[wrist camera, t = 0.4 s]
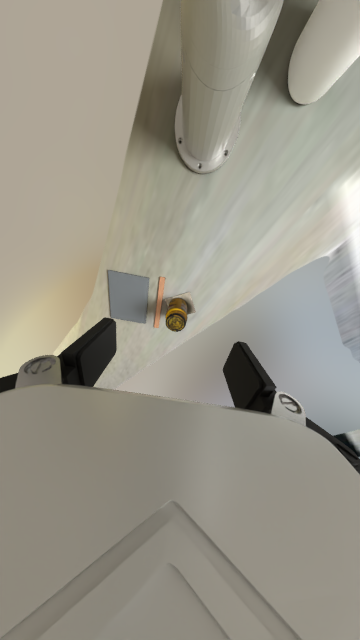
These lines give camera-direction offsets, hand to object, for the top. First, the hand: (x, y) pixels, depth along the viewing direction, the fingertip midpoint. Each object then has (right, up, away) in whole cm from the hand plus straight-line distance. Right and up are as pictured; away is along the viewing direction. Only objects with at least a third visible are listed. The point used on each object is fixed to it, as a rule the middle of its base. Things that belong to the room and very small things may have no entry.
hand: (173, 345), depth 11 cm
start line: (-6, +7, +34) cm, 36 cm away
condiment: (+1, +7, +35) cm, 35 cm away
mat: (-16, +9, +34) cm, 39 cm away
